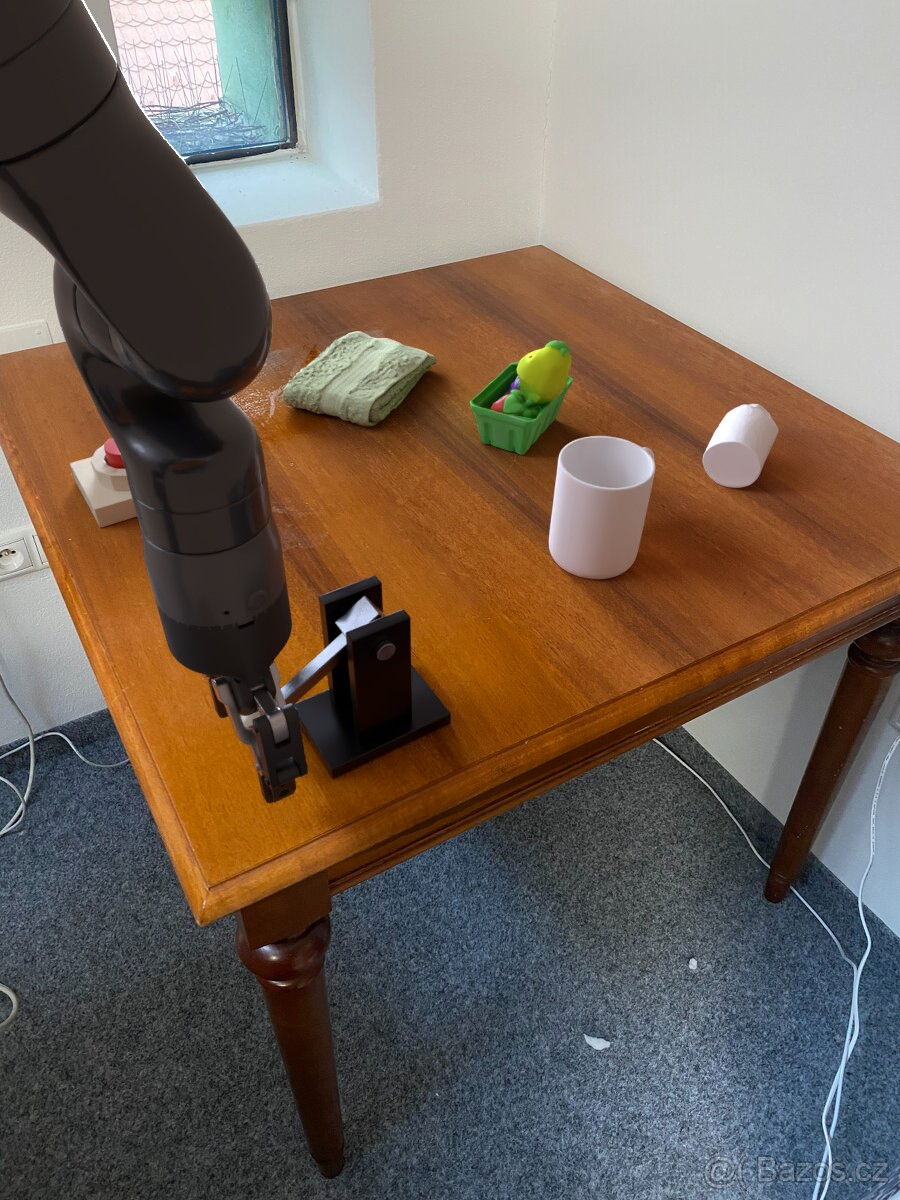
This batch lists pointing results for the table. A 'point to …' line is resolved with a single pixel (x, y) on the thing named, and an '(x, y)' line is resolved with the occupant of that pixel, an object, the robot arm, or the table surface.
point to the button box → (104, 489)
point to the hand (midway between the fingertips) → (255, 751)
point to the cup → (600, 505)
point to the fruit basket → (524, 398)
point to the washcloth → (358, 378)
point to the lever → (326, 654)
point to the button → (113, 454)
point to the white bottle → (740, 446)
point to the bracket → (368, 688)
